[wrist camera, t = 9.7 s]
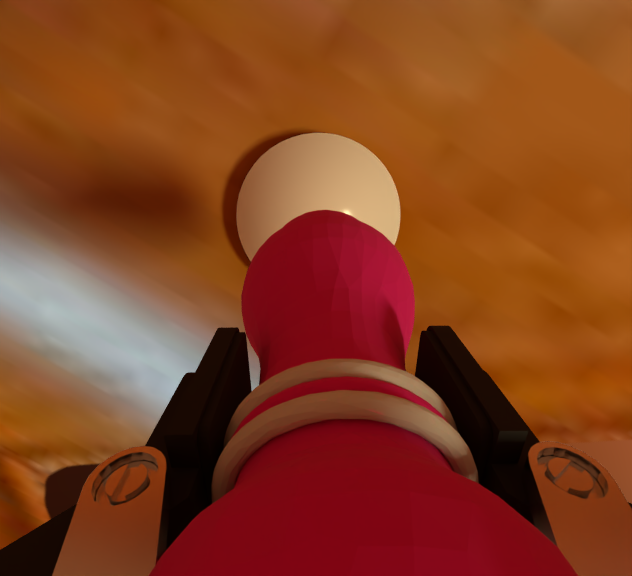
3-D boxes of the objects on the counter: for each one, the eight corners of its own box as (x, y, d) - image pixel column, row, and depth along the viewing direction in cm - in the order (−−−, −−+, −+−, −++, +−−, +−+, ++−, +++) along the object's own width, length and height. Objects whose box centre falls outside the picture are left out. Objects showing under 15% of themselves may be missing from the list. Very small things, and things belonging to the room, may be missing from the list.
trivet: (271, 306, 34) (270, 313, 32) (214, 164, 28) (209, 165, 27) (409, 267, 32) (414, 272, 31) (376, 109, 27) (379, 107, 26)
